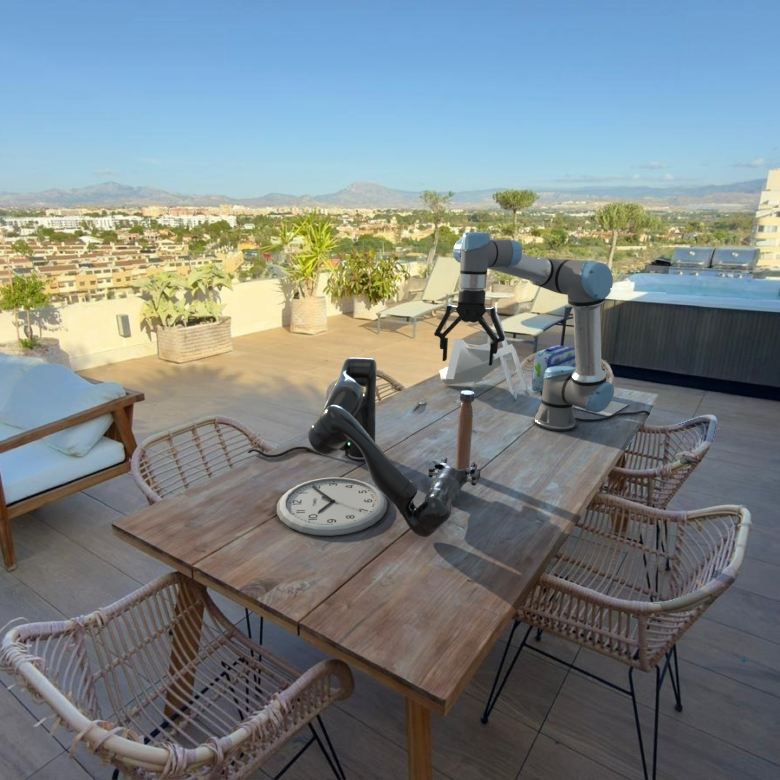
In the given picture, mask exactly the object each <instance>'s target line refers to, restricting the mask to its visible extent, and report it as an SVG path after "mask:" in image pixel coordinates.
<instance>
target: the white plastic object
mask: <svg viewBox="0 0 780 780" xmlns="http://www.w3.org/2000/svg"><path fill="white" fill-rule="evenodd" d="M496 317H497V319H498V321H499V324H500V326H501V329H502V331H503V334H504V336H505V339H504V341H501V345H502V347H500V348H498V350H497V353H496V354H493V364H492V365H491V366H490V365H489V357H490V344H489V343H488V342H487V343H483V344H479V345H473V346H469V345H468V343H466V342H465V340H464V339H463V338H460V339H458V338H454V340H453V344H452V349H451V353H450V357H449V362H448V366H446V367H444V368H442V369H440V370H439V371H438V372H439V376H440V381H442V383H443V384H444V385H445V386H449V385H458V384H467V383H468V384H469V383H473V384H477V383H480V382H482V381H484V378H485V377H486V376H487V375H489V374H490V373H492V372H494V371H495V370H496V369H497V368H499V367H500V366H502V370H503V373H504V376H505V380H506V383H507V386H508V390H509V393H510V394H511V395H512V397H513V398H514V399H515V400H517V392H516V391H517V390H516V388H515V385H514V381H513V378H512V375H511V371H510V369H509V365H508V361H510V360H513V363H514V366H515V369H516V372H517V376H518V380H519V382H520V385H521V389H522V391H523V393H524V395H525V396H526V397H528V396H531V395H530V390H529V388H528V387H529V386H528V384H527V381H526V378H525V375H524V371H523V369H522V368H523V367H522V366H521V362H520V359H519V355H518V352H517V349H516V347H515V346H514V345H513V343H511V344H508V341H507V337H506V334H505V331H504V328H503V325H502V321H501V318H500V315H499V314H498V312H496Z"/></svg>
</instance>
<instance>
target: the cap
mask: <svg viewBox="0 0 780 780" xmlns="http://www.w3.org/2000/svg"><path fill="white" fill-rule="evenodd" d="M459 400H460V401H461V403H462V402H472V403H473V402H474V401H475V391H473V390H461V391H460V396H459Z"/></svg>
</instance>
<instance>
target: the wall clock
mask: <svg viewBox="0 0 780 780" xmlns="http://www.w3.org/2000/svg"><path fill="white" fill-rule="evenodd" d="M387 509H388V499H387V497H386V496H385V495H384V494H382V493H381V492H380V491H379V490H378V489H377V487H376V486H375V485H372V484H371V483H369V482H365V481H362V480H359V479H355V478H349V477H338V476H337V477H335V476H333V477H332V476H331V477H322V478H317V479H312V480H307V481H305V482H302V483H299V484H297V485H295V486H293V487H292V488H290V489H288V490H287V491H286V492H285V493H284V494H283V495H281V496H280V498H279V499H278V502H277V503H276V515H277V517H278V518H279V520H280V521H281V522H282V523H283V524H285V525H286V526H287V527H288V528H290V529H293V530H295V531H297V532H299V533H303V534H308V535H312V536H327V537H328V536H329V537H331V536H332V537H333V536H342V535H350V534H352V533H356V532H361V531H363V530H366V529H368V528H369V527H372V526H373V525H375V524H376V523H378V522H379V521H380V520H381V519H382V518H383V517H384V516H385V514H386V512H387Z"/></svg>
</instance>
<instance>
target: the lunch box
mask: <svg viewBox="0 0 780 780" xmlns="http://www.w3.org/2000/svg"><path fill="white" fill-rule="evenodd" d="M555 366H570V367H575V368H576V362H575V347H571V346H565V345H553V346H550V347H546V348H545V349H542V350H539V351H538V352H537V353H536V354H535V356H534V358H533V365H532V376H531V377H532V378H531V390H532V391H533V392H537V393H541V394H542V391H543V380H544V379H543V378H544V375H545V370H546V369H547V368H549V367H555Z"/></svg>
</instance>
